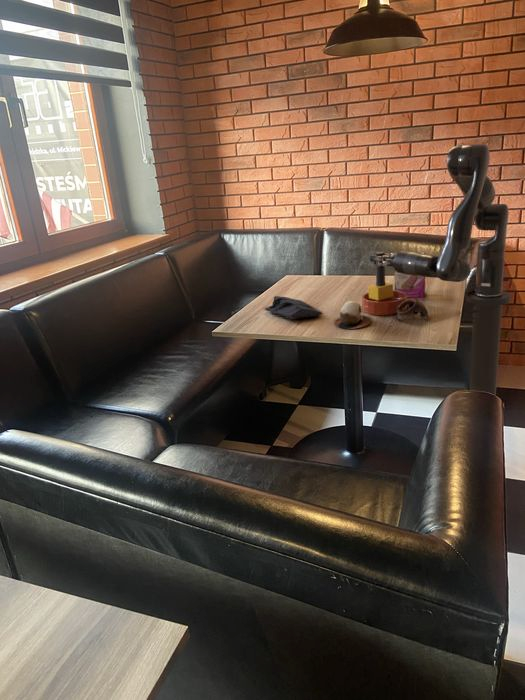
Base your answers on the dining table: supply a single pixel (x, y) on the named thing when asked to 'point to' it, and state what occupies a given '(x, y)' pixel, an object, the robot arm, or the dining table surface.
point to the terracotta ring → (384, 304)
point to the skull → (352, 316)
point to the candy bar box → (410, 285)
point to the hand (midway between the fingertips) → (374, 257)
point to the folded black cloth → (291, 308)
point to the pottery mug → (412, 309)
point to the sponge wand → (380, 284)
